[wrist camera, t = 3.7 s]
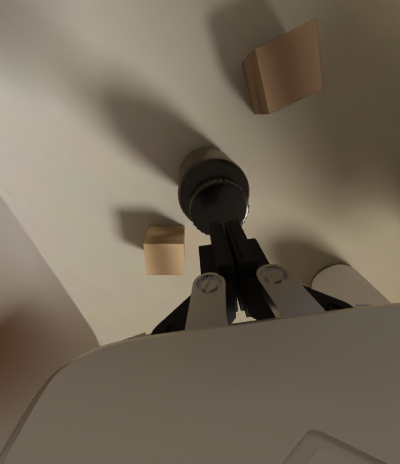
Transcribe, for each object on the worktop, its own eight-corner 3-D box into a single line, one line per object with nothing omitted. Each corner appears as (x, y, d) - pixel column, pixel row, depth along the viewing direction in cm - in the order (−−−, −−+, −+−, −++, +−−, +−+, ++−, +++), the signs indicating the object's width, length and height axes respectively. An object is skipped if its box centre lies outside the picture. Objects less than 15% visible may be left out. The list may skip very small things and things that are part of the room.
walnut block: (289, 38, 21) (316, 18, 16) (297, 94, 23) (323, 89, 19) (241, 62, 21) (255, 49, 17) (254, 114, 24) (269, 113, 19)
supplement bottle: (195, 207, 29) (199, 259, 18) (169, 162, 26) (156, 194, 15) (241, 184, 28) (272, 226, 17) (219, 134, 25) (242, 148, 14)
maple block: (184, 225, 30) (183, 244, 26) (184, 253, 33) (183, 274, 28) (149, 225, 30) (143, 243, 26) (152, 253, 32) (146, 274, 28)
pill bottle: (308, 299, 39) (367, 392, 26) (311, 267, 35) (384, 356, 22) (350, 293, 39) (433, 383, 26) (359, 259, 35) (461, 345, 22)
